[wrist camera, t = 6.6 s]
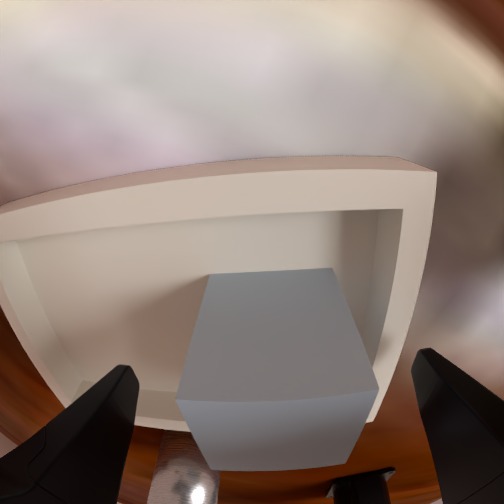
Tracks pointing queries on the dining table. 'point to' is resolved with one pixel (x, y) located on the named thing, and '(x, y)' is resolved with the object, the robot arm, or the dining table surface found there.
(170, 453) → the metal cylinder
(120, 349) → the parts tray
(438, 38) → the dining table surface
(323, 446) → the painted block
